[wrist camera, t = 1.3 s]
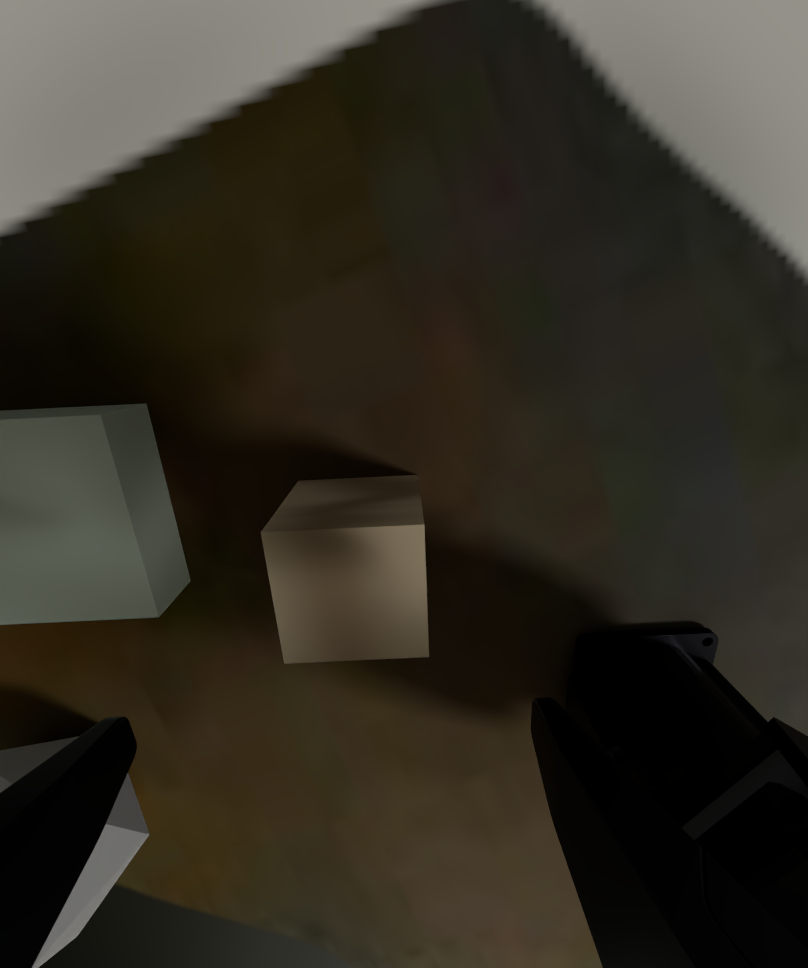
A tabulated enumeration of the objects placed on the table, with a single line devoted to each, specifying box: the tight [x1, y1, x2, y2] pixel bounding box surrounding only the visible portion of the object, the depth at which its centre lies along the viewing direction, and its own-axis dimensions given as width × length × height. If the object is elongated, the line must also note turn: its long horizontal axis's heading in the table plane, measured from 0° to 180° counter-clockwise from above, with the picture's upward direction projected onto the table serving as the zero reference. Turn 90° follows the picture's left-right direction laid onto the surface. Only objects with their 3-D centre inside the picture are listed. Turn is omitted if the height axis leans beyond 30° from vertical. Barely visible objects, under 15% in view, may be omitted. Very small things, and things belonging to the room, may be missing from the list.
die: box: [0, 737, 149, 968], centre depth 19 cm, size 8×9×10 cm
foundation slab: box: [0, 404, 191, 625], centre depth 16 cm, size 8×8×3 cm
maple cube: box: [261, 475, 429, 664], centre depth 16 cm, size 5×5×5 cm
